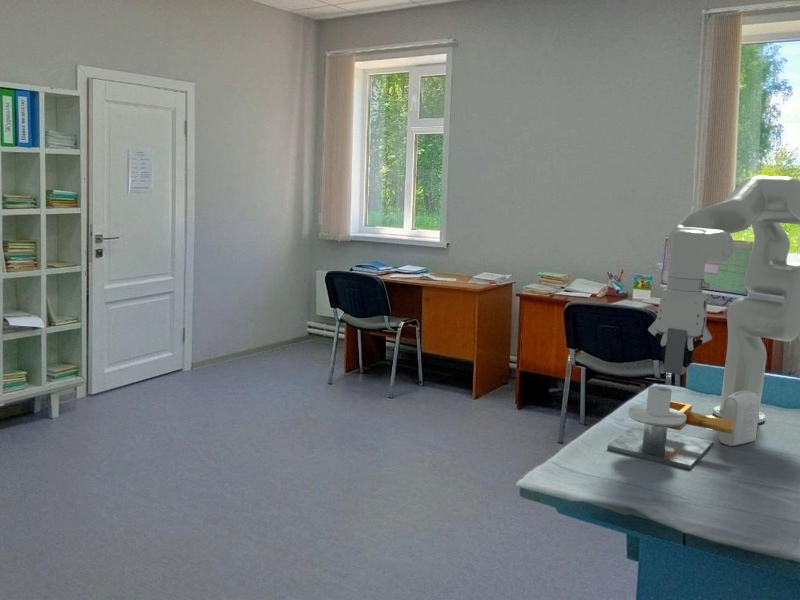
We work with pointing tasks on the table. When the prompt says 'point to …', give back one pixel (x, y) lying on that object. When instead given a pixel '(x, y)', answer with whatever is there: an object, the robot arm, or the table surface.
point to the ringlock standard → (663, 443)
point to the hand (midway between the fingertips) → (676, 363)
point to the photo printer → (741, 417)
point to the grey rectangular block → (675, 352)
